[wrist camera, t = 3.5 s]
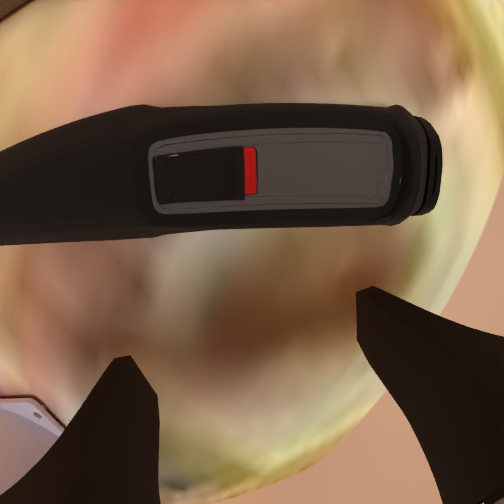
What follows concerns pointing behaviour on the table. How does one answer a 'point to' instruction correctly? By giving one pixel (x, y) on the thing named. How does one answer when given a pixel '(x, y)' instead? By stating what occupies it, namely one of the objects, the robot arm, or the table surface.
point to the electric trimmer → (218, 171)
